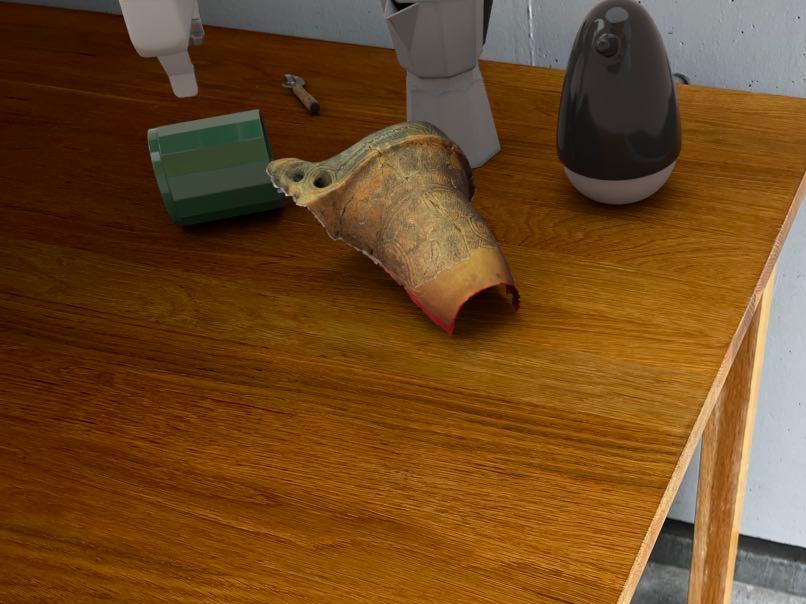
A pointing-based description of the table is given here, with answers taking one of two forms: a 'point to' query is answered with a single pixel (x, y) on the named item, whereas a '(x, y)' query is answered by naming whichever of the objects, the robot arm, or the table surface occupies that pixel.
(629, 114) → the pump dispenser
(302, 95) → the can opener
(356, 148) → the tan clay pottery piece
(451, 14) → the coffee maker
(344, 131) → the table surface
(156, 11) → the robot arm
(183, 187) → the cup
